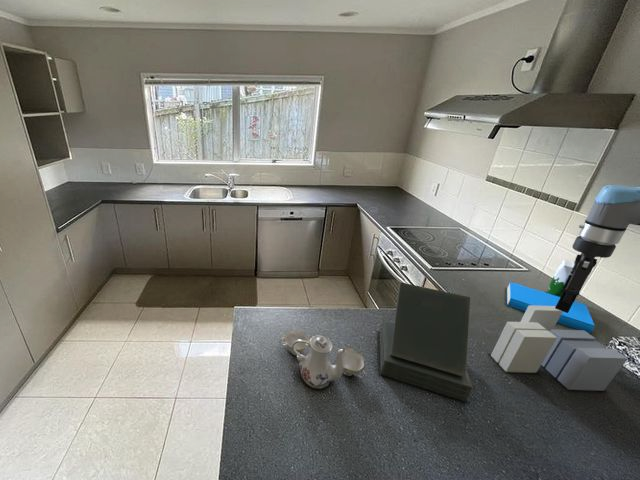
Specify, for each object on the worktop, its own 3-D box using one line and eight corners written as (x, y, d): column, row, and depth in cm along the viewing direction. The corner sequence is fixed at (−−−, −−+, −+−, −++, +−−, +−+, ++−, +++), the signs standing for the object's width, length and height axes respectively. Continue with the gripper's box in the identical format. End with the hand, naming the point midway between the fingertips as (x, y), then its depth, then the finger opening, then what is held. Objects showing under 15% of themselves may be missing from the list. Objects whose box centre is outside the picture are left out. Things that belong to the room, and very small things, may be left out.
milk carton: (572, 308, 122) (595, 269, 114) (543, 298, 128) (564, 260, 120) (571, 299, 128) (593, 261, 120) (544, 290, 134) (563, 254, 126)
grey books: (534, 358, 96) (551, 328, 91) (565, 359, 96) (584, 329, 91) (568, 389, 85) (590, 357, 80) (603, 390, 85) (628, 358, 80)
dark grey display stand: (380, 374, 88) (398, 311, 78) (379, 332, 105) (394, 275, 95) (465, 402, 80) (497, 336, 71) (449, 352, 97) (474, 293, 88)
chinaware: (363, 366, 92) (373, 324, 87) (364, 410, 77) (376, 361, 72) (281, 342, 101) (286, 302, 96) (268, 377, 86) (272, 331, 81)
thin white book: (512, 337, 105) (528, 305, 99) (538, 338, 105) (556, 306, 99) (517, 342, 102) (535, 310, 97) (544, 343, 102) (563, 310, 97)
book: (509, 281, 133) (586, 303, 118) (506, 289, 134) (581, 312, 120) (510, 298, 120) (596, 325, 106) (506, 306, 122) (590, 334, 107)
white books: (490, 355, 96) (507, 321, 91) (519, 356, 97) (537, 322, 91) (506, 371, 90) (524, 336, 85) (536, 372, 91) (557, 337, 85)
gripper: (580, 226, 89) (553, 282, 97) (573, 246, 74) (541, 311, 82) (617, 233, 84) (584, 292, 92) (617, 257, 69) (578, 325, 77)
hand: (564, 301), depth 87 cm, fingers open, 13 cm apart
